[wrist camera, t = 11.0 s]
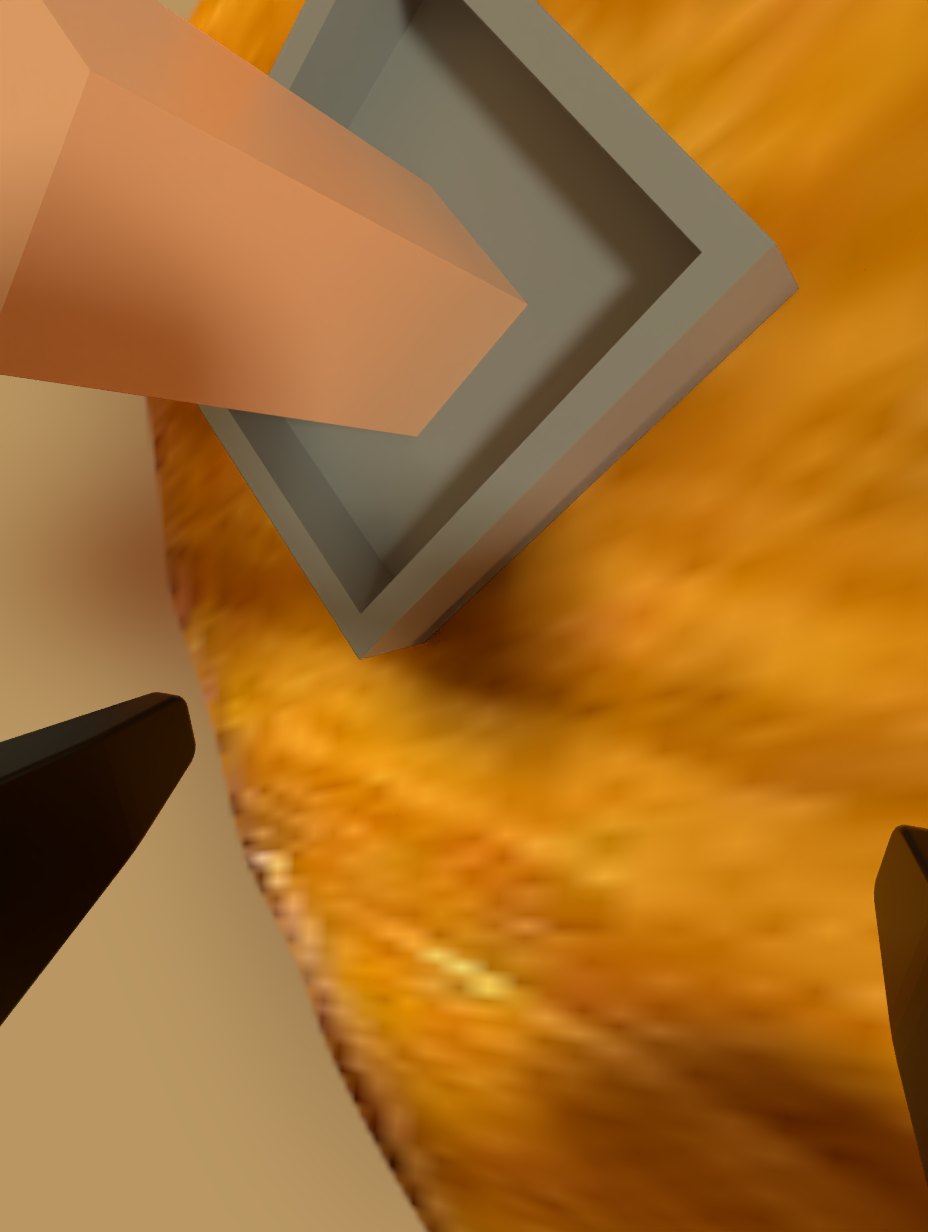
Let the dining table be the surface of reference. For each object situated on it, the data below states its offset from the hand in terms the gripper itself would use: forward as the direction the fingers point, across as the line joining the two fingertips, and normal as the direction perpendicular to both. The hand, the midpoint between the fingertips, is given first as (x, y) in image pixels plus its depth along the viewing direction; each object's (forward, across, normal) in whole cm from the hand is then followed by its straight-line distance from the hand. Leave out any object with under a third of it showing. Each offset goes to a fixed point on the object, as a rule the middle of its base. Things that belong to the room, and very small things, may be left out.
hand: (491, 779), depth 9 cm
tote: (+13, +5, -5) cm, 15 cm away
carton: (+13, +5, -5) cm, 15 cm away
